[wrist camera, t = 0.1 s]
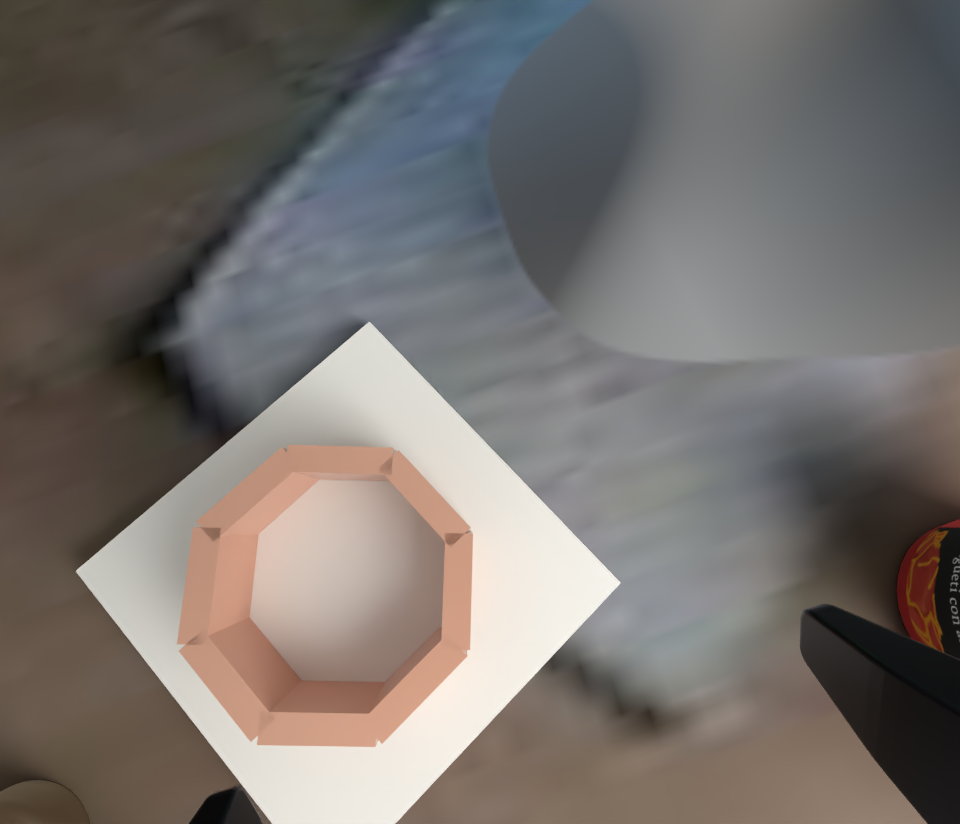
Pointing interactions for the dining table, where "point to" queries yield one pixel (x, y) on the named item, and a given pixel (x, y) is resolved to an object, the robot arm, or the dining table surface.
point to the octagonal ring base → (347, 590)
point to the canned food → (932, 589)
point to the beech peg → (40, 804)
